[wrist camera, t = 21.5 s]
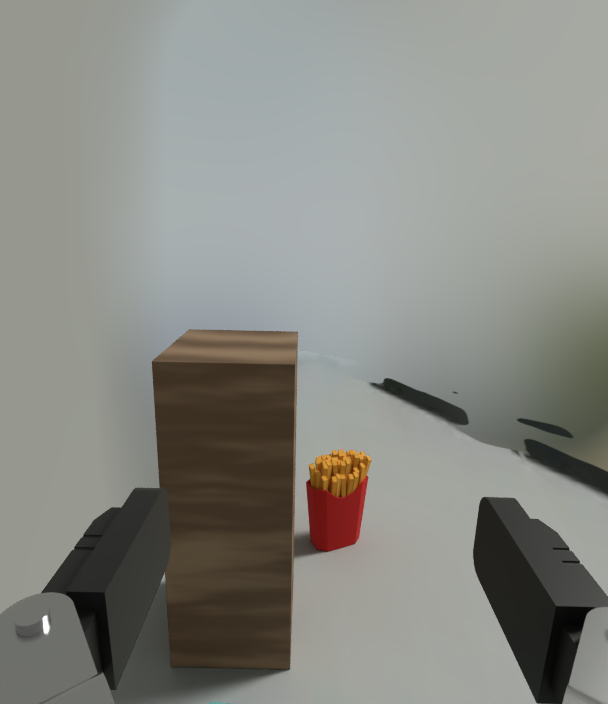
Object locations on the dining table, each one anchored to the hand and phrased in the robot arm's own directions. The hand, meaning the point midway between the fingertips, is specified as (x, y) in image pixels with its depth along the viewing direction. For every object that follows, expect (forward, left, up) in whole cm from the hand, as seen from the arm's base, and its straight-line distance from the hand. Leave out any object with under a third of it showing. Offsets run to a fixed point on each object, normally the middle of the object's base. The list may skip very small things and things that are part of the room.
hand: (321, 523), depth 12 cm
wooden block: (+34, +7, -36) cm, 50 cm away
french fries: (+48, -5, -36) cm, 60 cm away
